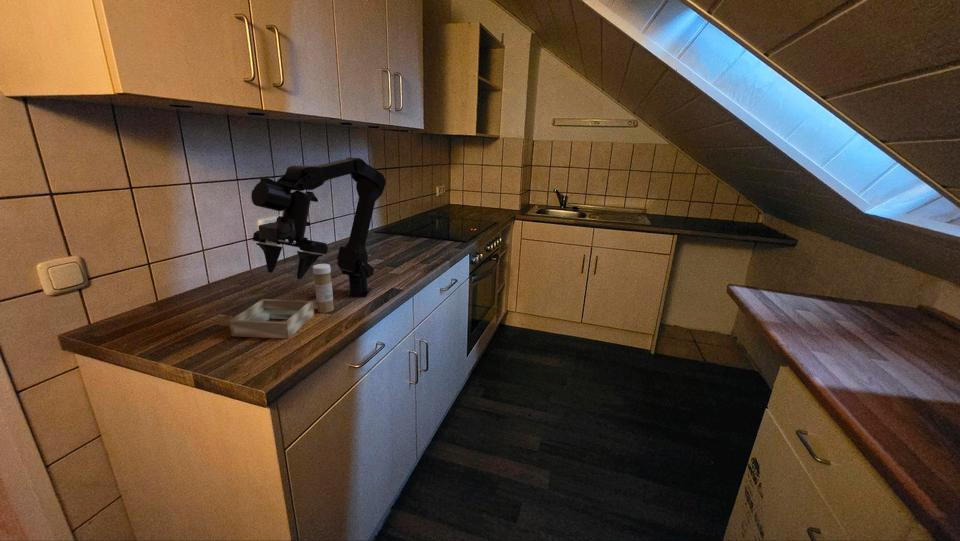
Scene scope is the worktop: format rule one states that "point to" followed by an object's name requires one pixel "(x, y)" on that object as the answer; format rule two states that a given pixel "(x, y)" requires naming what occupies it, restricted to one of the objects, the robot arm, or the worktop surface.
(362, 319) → the worktop surface
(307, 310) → the peg box
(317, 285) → the sprinkles bottle
